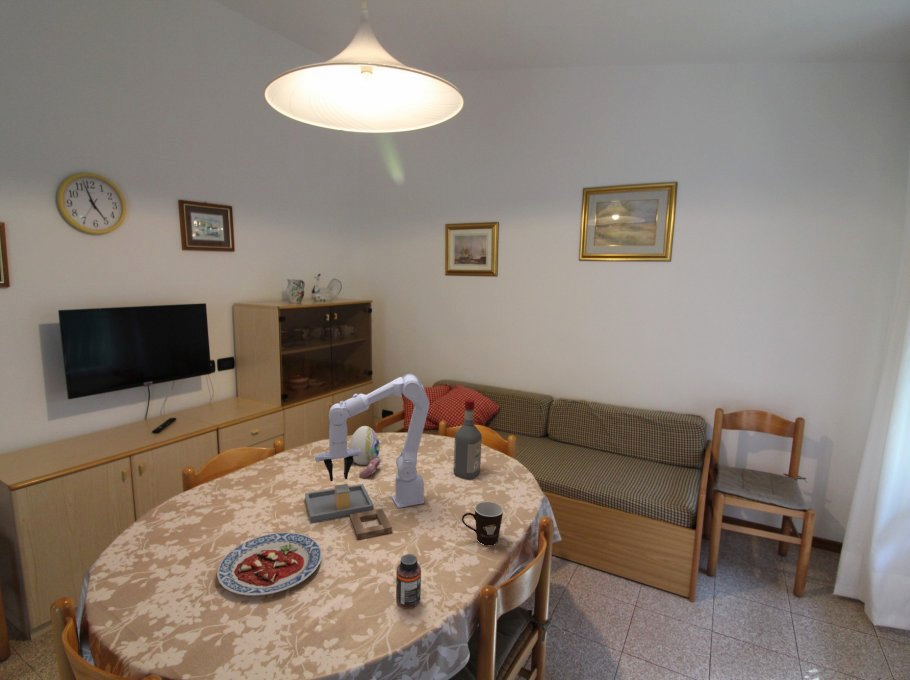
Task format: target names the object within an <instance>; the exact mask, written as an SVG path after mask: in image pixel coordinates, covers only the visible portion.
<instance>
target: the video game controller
mask: <svg viewBox="0 0 910 680" xmlns="http://www.w3.org/2000/svg"><path fill="white" fill-rule="evenodd" d="M381 463H382V459H380V458H378V457H377V458H375V459H373V460H371V461H370V463H369V464H368V465H367V467H366V468H365V469H364V470H362V471H361V472H360V473H359V478H361V479H365V478H367V477H371V476H372V474H374V473H375V472H377V468H378V467H379V465H380V464H381Z"/></svg>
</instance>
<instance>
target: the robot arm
mask: <svg viewBox="0 0 910 680" xmlns="http://www.w3.org/2000/svg"><path fill="white" fill-rule="evenodd" d="M402 394H403V396H404V397H405V398H407V399H408V400H409V401H411V402H412V404H413V406H414V407H413V410H412V414H411V418H410V422H409V425H408V430H407V433H406V438H405V441H404V446H403V448H402V450H401V452H400V454H399V455H398V457H397V458H396V462H395V463H396V467H397V473H396V474H395V490H394V491H395V494H394V495H392V496H391V499H392V500H393V502H394V504H395V506H396V507H397V508H398V509H399V508H404V507H406V508H407V507H411V506H416V505H421V504H425V501H424V500H425V499H424V498H425V497H424V495H425V492H424V491H425V487H424V486H425V484H424V478H423V476H422V474H421V473H420V474H419V473H418V470H417V462H418V451H419V447H420V443H421V439H422V436H423V432H424V428H425V425H426V421H427V417H428V412H429V409H430V401H429V397H428V395H427V392H426V390H425V387H424V386H423V384H422V382H421V380H420V379H419V378H418V377H417V375H415V374H413V373H407V374H404V375H403V376H400V377H396V378H395V379H394V380H392V381H390V382H388V383H386V384H384V385H382V386H380V387H378V388H376V389H374V390H373V391H372V392H369V393H367V394H366V393H365V394H364V393H354V394H353V395H352V397H351V398H348V399H346V400H341V401H339V403H338V402H337V403H334V404H333V405H331V407H330V408H329V413H328V421H329V429H328V431H329V432H328V435H329V436H328V439H329V440H328V441H329V442H328V443H329V447H328V448H329V451H326V452H322V453H317V454H315V455H314V456H315V459H314V461H315V463H320V462H323V464H324V465H325V468H326V470H327V471H328V476H329V480H330V482H333V481H334V477H333V476H334V475H333V468H334V466H333V465H334V464H333V460H341V459H343V465H344V467H343V468H344V469H343V478H344V480H348V478H349V477H348V476H349V473H350V470H351V467H352V465H353V464H354V463H355V462H354V459H353V457H355V456H357V457H361V451H360V449H354V450H353V449H349V448H348V425H347V420H348V418H349V419H350V418H352V417H355V416H357V415H359V414H360V413H361V414H362V413H363V412H365V411H367V410H368V409H370V405H371V404H373V403H376V402H378V401H380V400H383V399H386V398H388V397H390V396H395V397H396V396H397V397H401V398H402Z"/></svg>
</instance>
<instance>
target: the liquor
mask: <svg viewBox="0 0 910 680" xmlns="http://www.w3.org/2000/svg"><path fill="white" fill-rule="evenodd" d="M474 409H475V400H474V399H468V398H467V399H465V400H464V419H463V420H464V421H463V424H462V425H461V426H460V427H459V428H458V429H457V431H455V432H454V443H453V444H454V448H453V449H454V451H453V473H454V475H455V477H457V476H458V478H461V479H464V480H474V479H475V478H476V477H477V476H478V475H480V473H481V462H482V460H481V459H482V458H481V457H482V433H481V431H480V430H479V429H478V428H477V427H476V425H475V423H474V411H475V410H474Z"/></svg>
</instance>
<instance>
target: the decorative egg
mask: <svg viewBox="0 0 910 680" xmlns="http://www.w3.org/2000/svg"><path fill="white" fill-rule="evenodd" d="M380 446H381V445H380V439H379V436H378V435H377V433H376V431H374V429H373V428H371V427H370V426H367V425H361V426H359V427H358V428H357V429H356V430H355V432H354V433H353V434H352V436H351V438H350V442H349V446H348V447H349V448H348V449H353V450H354V449H360V451H361V457H357V456H355V457H353V459H354V462H353V463H355V464H357V465H359V466H368V464H369V463H370V461H371V460H373V459H375V458H377V459H378V456H379V454H380V449H381V447H380Z"/></svg>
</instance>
